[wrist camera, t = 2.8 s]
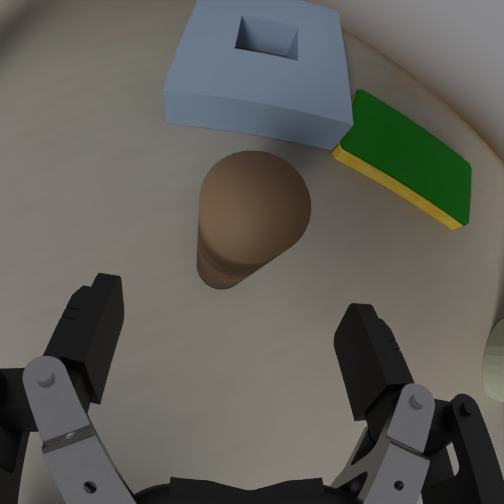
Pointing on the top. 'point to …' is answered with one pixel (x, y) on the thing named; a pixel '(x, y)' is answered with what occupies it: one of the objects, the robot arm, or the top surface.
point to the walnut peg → (248, 216)
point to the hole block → (262, 72)
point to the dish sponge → (406, 160)
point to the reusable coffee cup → (494, 363)
